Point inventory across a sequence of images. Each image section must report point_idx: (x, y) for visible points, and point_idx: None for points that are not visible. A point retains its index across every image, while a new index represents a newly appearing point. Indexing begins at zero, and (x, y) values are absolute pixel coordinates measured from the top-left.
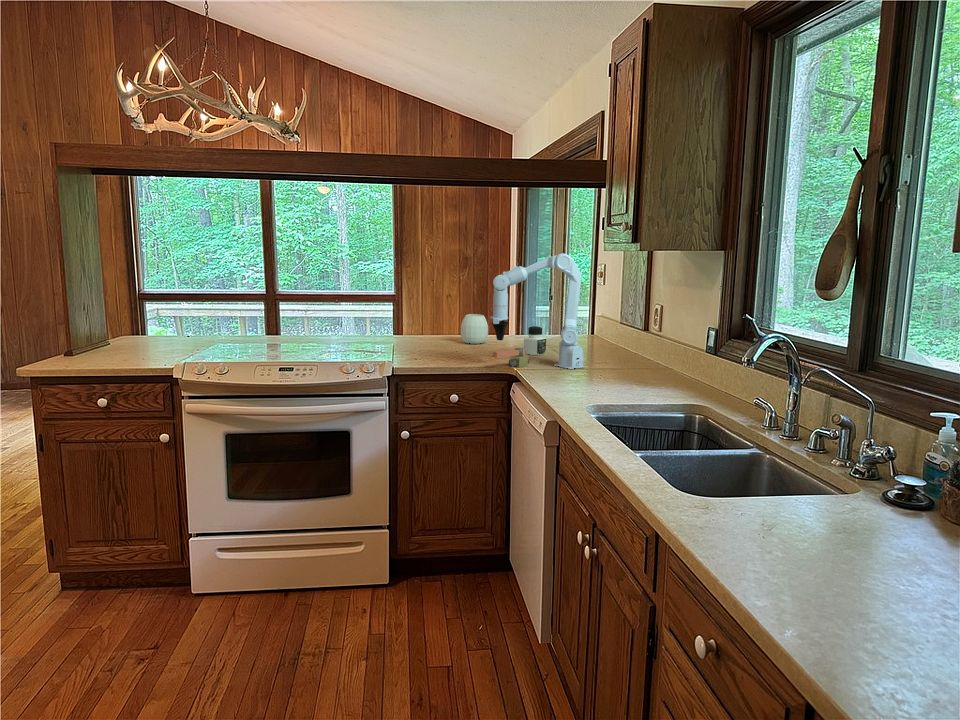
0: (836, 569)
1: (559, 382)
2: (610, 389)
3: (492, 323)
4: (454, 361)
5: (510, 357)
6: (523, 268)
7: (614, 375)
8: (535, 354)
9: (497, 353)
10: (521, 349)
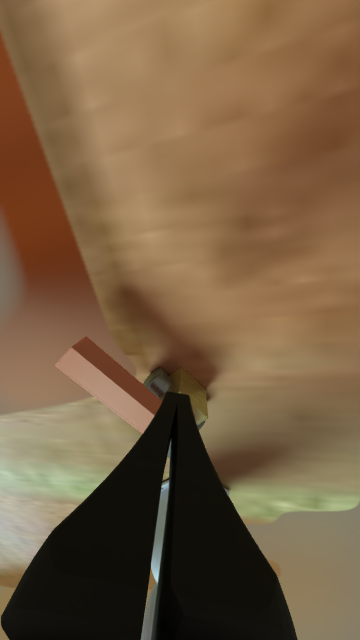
0: None
1: (12, 459)
2: (3, 512)
3: (29, 577)
4: (238, 109)
5: (176, 386)
6: None
7: None
8: None
9: (61, 365)
10: None
